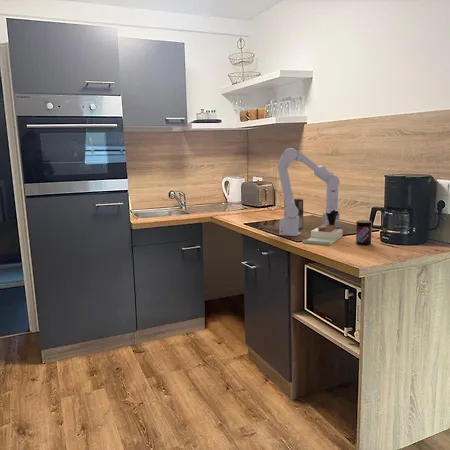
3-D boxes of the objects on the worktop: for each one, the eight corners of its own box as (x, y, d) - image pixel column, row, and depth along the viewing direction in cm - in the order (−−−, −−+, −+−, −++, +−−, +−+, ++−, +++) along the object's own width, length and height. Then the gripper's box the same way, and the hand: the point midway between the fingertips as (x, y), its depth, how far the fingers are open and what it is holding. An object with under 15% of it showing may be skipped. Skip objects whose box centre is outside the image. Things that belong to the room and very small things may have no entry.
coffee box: (298, 226, 240) (298, 198, 237) (303, 227, 234) (303, 199, 231) (283, 227, 238) (283, 199, 235) (288, 229, 232) (288, 200, 229)
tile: (318, 231, 205) (318, 227, 205) (323, 228, 213) (323, 224, 212) (330, 232, 202) (330, 228, 202) (335, 229, 210) (335, 225, 209)
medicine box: (325, 229, 226) (326, 214, 225) (322, 228, 231) (322, 213, 229) (339, 229, 228) (339, 213, 226) (335, 227, 232) (336, 212, 231)
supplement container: (352, 243, 193) (353, 220, 191) (365, 241, 195) (366, 219, 193) (361, 246, 187) (362, 223, 185) (374, 244, 189) (375, 222, 187)
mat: (302, 243, 196) (302, 239, 196) (310, 238, 207) (310, 235, 206) (329, 245, 190) (329, 242, 189) (337, 240, 200) (337, 237, 200)
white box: (311, 238, 207) (311, 231, 206) (317, 234, 215) (317, 227, 214) (337, 240, 200) (337, 232, 200) (342, 236, 208) (342, 229, 208)
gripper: (336, 200, 204) (335, 228, 206) (343, 197, 216) (343, 223, 218) (322, 200, 207) (321, 227, 210) (330, 197, 220) (330, 222, 222)
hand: (331, 225), depth 214 cm, fingers closed
